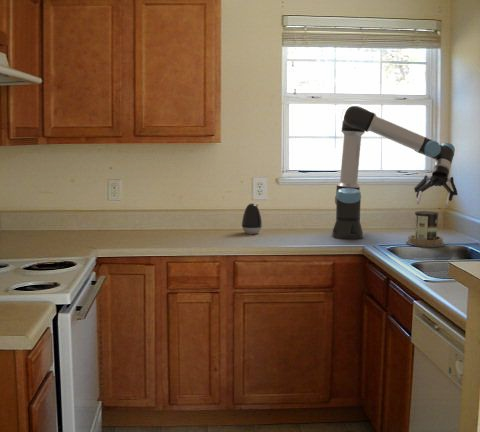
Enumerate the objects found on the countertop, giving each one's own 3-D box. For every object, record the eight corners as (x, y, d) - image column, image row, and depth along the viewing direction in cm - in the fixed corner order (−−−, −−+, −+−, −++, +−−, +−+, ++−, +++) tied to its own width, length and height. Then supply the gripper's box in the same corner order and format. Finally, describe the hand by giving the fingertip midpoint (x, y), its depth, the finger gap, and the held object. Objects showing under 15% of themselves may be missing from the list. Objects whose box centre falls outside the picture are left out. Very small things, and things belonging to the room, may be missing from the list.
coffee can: (435, 241, 315) (437, 211, 313) (437, 244, 305) (439, 214, 303) (413, 240, 317) (414, 210, 315) (414, 244, 307) (415, 213, 305)
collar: (402, 245, 307) (402, 238, 307) (412, 240, 322) (412, 233, 322) (439, 249, 299) (439, 241, 299) (448, 243, 314) (448, 236, 313)
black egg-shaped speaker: (265, 232, 340) (266, 203, 338) (255, 235, 331) (255, 205, 329) (248, 231, 346) (249, 201, 344) (237, 233, 337) (238, 203, 335)
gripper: (468, 176, 325) (459, 211, 314) (417, 173, 337) (407, 206, 327) (466, 166, 319) (458, 201, 309) (414, 163, 332) (404, 197, 321)
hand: (432, 204), depth 318 cm, fingers open, 13 cm apart
